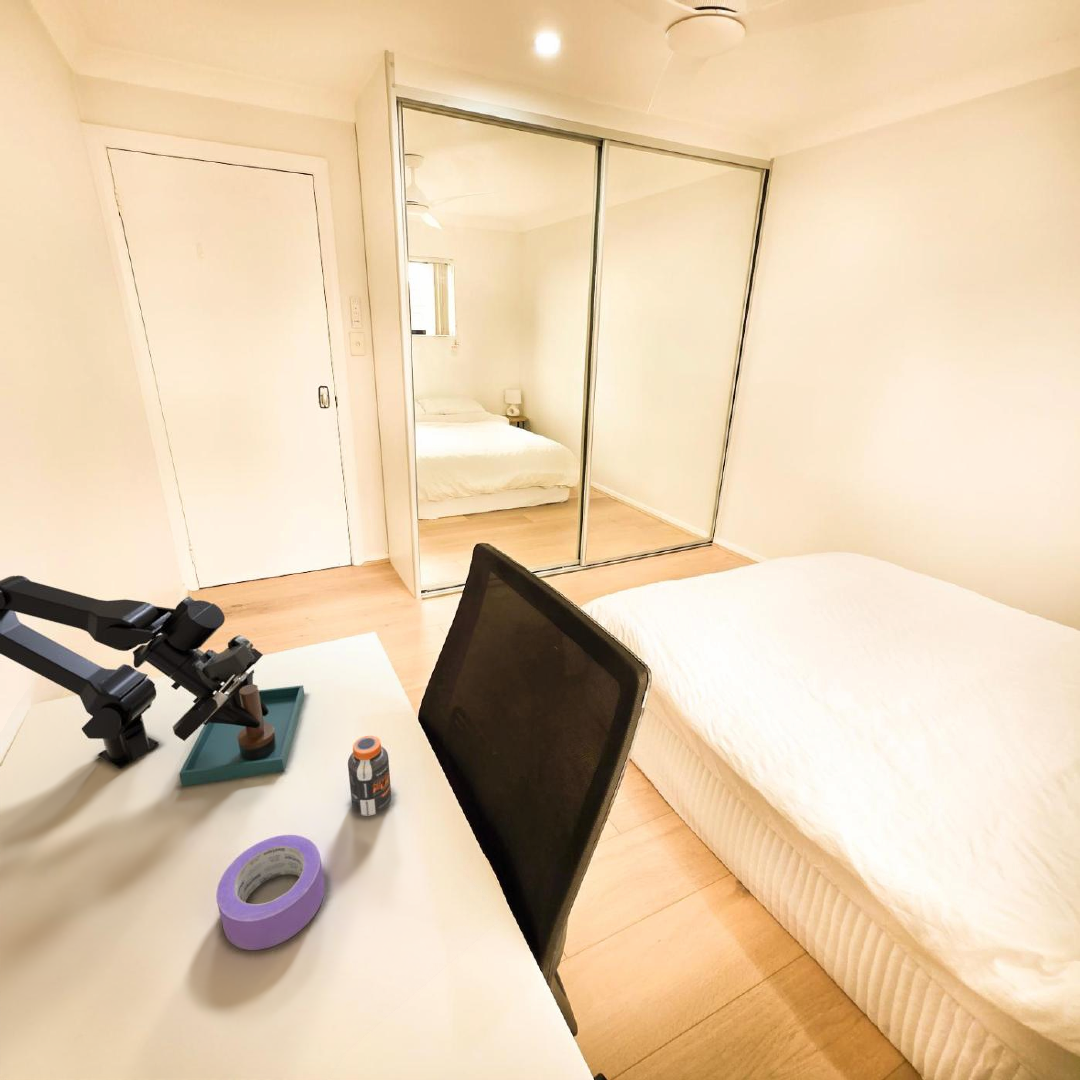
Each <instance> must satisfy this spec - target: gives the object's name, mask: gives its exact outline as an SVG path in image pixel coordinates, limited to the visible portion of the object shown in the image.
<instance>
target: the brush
mask: <svg viewBox="0 0 1080 1080" xmlns="http://www.w3.org/2000/svg"><path fill="white" fill-rule="evenodd" d="M259 690H260V689H259V686H258V685H257V684H255V683H253V684H251V685H246V686H244V687H242V688H241V689H240V690H239V694H240V700H241V705H242V708H244V709H245V710H246V711H248V712H249V713H250V714H251V715H253V716H254V717H255V718H256V719H257V720H258V721H259V722H260V723H261V724H260V726H258V727H257V728H251V727H245V728H244V729H243V730H241V732H240V733H239V734H238V743H239V749H240V754H241V757H242V758H243V759H245V760H249V761H254V760H259V759H262V758H265V757H267V756H268V755H270V754H271V753H272V752H273V751H274V750H275V748H276V738H275V732H274V727H273V725H272V724H270V723H267V722H264V721H263V715H262V709H261V702H260V696H259Z"/></svg>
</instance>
